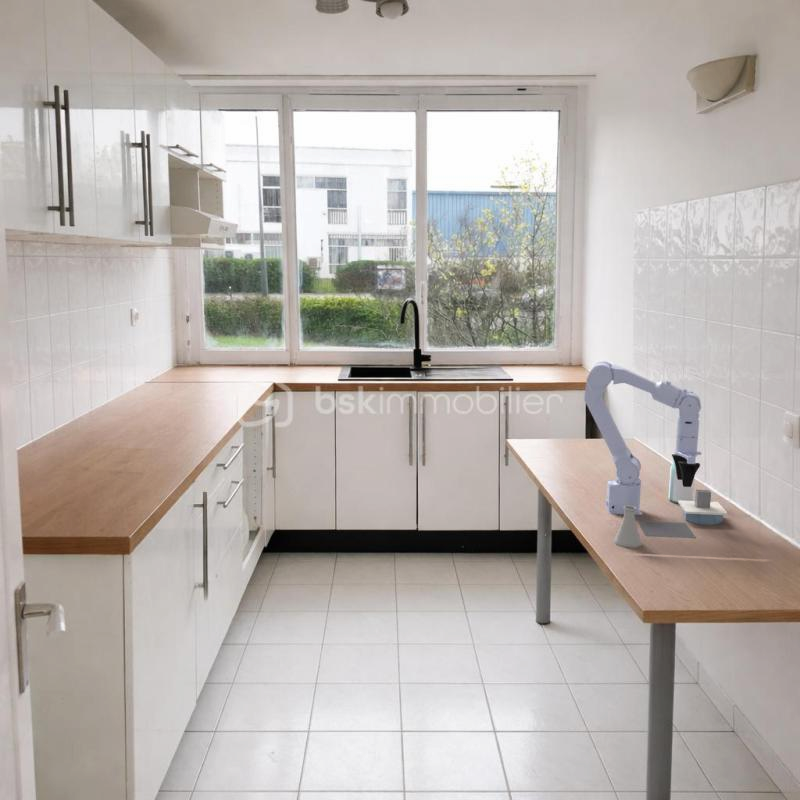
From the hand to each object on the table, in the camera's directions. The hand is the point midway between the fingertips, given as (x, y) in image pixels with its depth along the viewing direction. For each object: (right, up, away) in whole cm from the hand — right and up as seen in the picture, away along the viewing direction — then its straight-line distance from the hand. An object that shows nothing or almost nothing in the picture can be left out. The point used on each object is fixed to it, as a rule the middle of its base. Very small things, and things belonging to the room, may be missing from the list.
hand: (684, 483), depth 252 cm
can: (+5, -7, +18) cm, 20 cm away
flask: (-22, -14, -23) cm, 35 cm away
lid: (+4, -7, -2) cm, 8 cm away
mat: (-8, -12, -11) cm, 19 cm away
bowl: (+5, -10, -2) cm, 11 cm away
